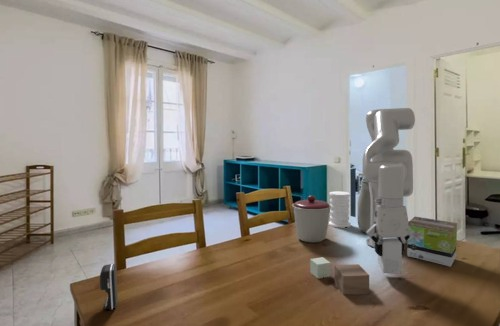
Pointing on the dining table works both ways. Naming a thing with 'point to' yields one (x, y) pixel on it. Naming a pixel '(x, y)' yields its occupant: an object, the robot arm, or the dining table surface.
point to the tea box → (432, 240)
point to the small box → (391, 256)
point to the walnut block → (352, 279)
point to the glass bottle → (364, 206)
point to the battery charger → (109, 285)
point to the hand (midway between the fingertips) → (389, 253)
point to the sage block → (320, 267)
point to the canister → (311, 219)
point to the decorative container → (339, 209)
